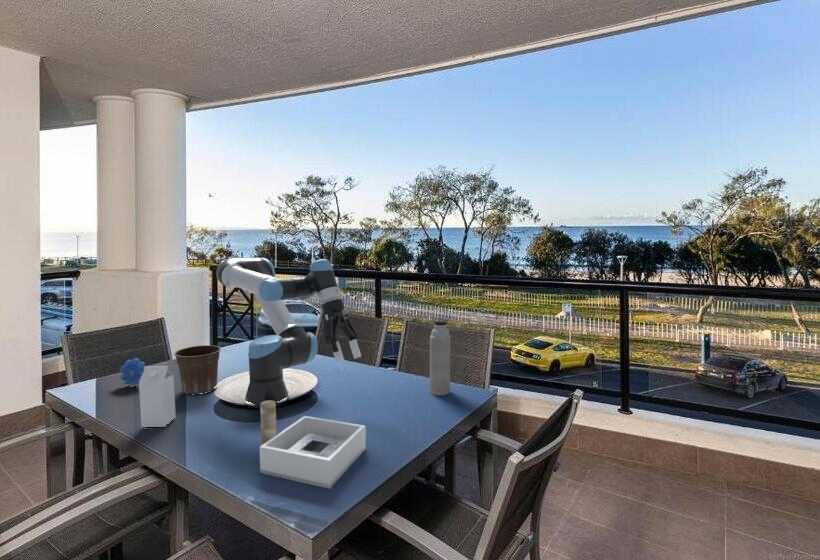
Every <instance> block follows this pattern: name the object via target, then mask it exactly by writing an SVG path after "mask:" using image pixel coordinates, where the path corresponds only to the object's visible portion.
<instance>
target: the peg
mask: <svg viewBox="0 0 820 560" xmlns="http://www.w3.org/2000/svg"><path fill="white" fill-rule="evenodd" d="M276 407H277V406H276V402H275V401H272V400H269V401H264V402H262V403H261V404H260V408H259V409H260V430H261V431H260V434H261V435H260V436H261V446H262V445H263V444H265V443H266V442H267V441H269V440H270V439H272V438H273V437H275V436H276V435H277V411H276V409H277V408H276Z"/></svg>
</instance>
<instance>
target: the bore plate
mask: <svg viewBox="0 0 820 560" xmlns="http://www.w3.org/2000/svg"><path fill="white" fill-rule="evenodd" d="M345 441H346V440H344V439H338V438H332V437H327V436H321V435H315V434H310V433H309V434H307V435H306V436H305V437H303V438H302V439H301V440H300V441H298V442H297V443H296V444H294V445H293V446H292V447H291V448H289V449H288V450H290V451H295V452H300V453H305V454H310V455H315V456H321V457H326V458H328V457H329V456H330V455H331V454H332V453H334V452H335V451H336V450H337V449H338V448H339V447H340V446H341V445H342V444H343V443H344V442H345ZM311 451H318V452H320V453H316V452H311Z"/></svg>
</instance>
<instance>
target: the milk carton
mask: <svg viewBox="0 0 820 560" xmlns="http://www.w3.org/2000/svg"><path fill="white" fill-rule="evenodd" d="M174 375H175V374H173V373H172V372H171V371H170V370H169V366H168V365H154V366H151V365H150V366H149V365H148V366H146V365H145V366H144V372H143V374H142V376H141V379H140V381H139V384H138V386H139V387H138V388H139V389H138V390H139V404H140V405H139V406H140V424H141V428H142V427H165V426H166V425H167V424H169V423H170V422H171V421H172V420H173V419H174V418H175V419H176V400H175V399H176V398H175V395H176V394H175V378H174V377H175V376H174ZM175 419H174V420H175ZM174 420H173V421H174ZM173 421H172V422H173ZM172 422H171V423H172ZM171 423H170V424H171ZM170 424H169V425H170ZM167 426H168V425H167ZM167 426H166V427H167ZM166 427H165V428H166Z"/></svg>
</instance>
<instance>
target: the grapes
mask: <svg viewBox="0 0 820 560" xmlns="http://www.w3.org/2000/svg"><path fill="white" fill-rule="evenodd" d="M145 366H146V363H145V362H144V361H140V359H139V358H138V357H134V358H133V359H126V361H125V362H124V365H123V366H121V367H120V368H119V369H120V373H122V374H121V375H120V380H121V381H124V385H125V384H130V383H131V385H134V384H138V383H139V381H140V379H141V376H142V374H143V372H144V367H145ZM131 385H130V386H131ZM138 385H139V384H138Z"/></svg>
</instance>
